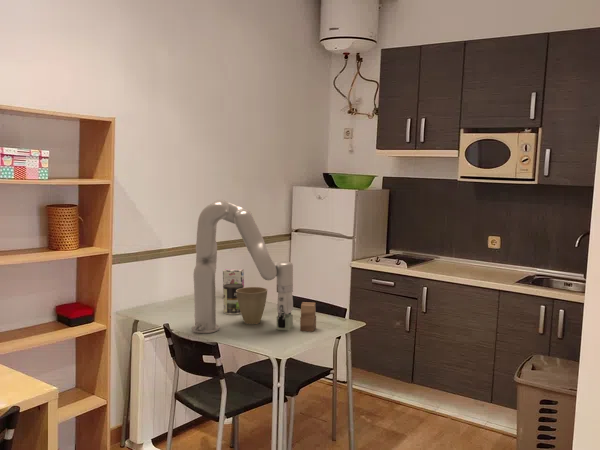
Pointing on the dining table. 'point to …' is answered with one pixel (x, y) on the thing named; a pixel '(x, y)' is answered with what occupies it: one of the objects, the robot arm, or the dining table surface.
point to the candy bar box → (233, 277)
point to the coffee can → (231, 299)
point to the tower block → (308, 310)
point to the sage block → (286, 322)
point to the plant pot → (252, 303)
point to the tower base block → (307, 324)
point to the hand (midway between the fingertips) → (284, 324)
